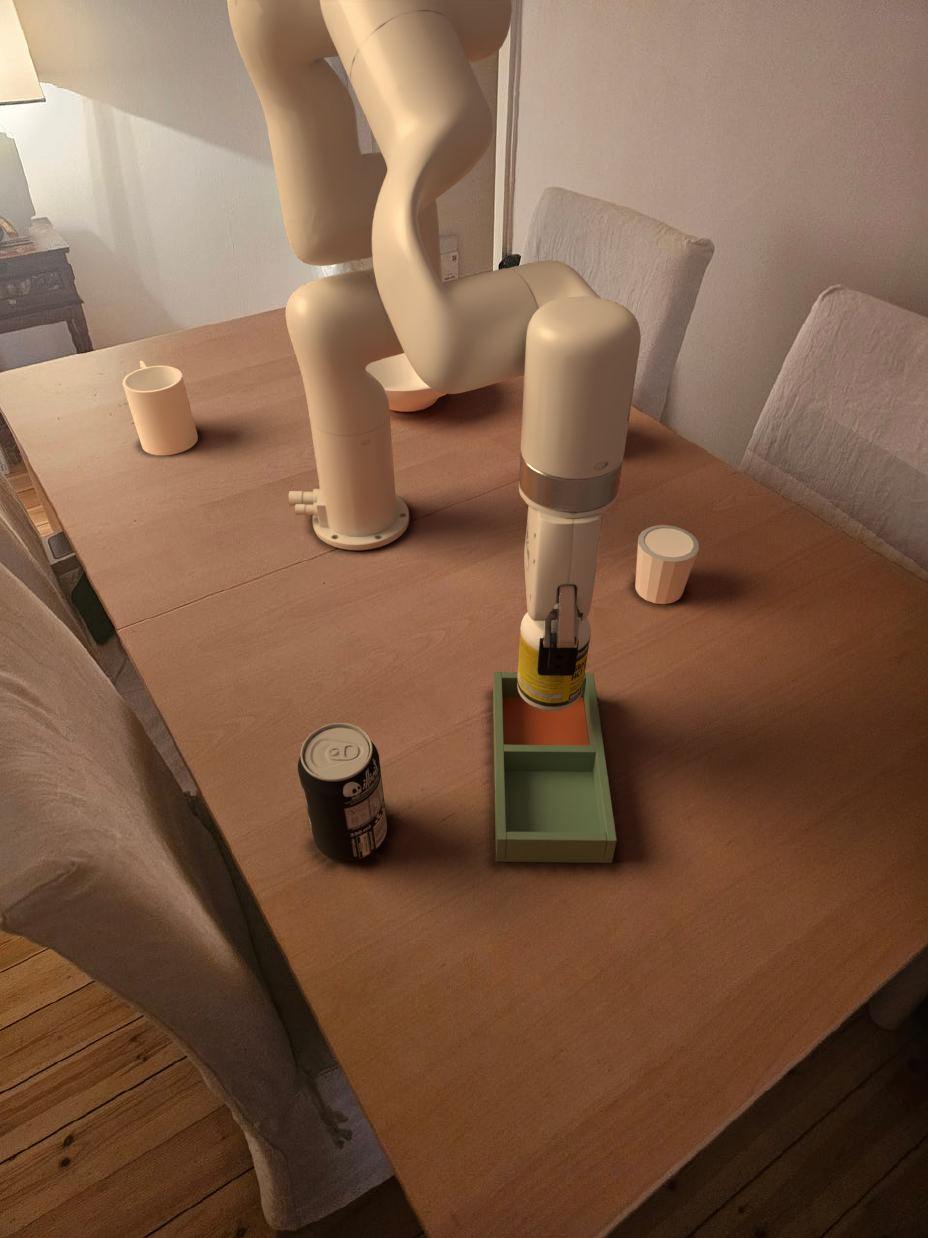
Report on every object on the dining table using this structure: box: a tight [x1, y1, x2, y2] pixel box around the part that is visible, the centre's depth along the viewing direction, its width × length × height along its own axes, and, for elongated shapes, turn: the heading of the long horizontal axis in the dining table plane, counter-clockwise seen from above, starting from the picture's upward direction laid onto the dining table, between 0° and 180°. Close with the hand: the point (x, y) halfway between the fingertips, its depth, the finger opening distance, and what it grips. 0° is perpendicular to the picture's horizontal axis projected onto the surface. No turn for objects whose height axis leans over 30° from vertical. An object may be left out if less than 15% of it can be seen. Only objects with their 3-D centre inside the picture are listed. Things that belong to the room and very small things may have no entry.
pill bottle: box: [517, 603, 592, 711], centre depth 74 cm, size 6×6×11 cm
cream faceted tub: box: [634, 524, 700, 605], centre depth 96 cm, size 7×7×7 cm
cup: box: [121, 360, 199, 456], centre depth 121 cm, size 8×12×10 cm
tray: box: [492, 671, 618, 864], centre depth 77 cm, size 10×19×4 cm, turn 179°
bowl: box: [366, 353, 447, 413], centre depth 130 cm, size 20×20×7 cm
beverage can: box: [297, 722, 388, 863], centre depth 70 cm, size 7×7×12 cm
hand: (553, 643), depth 73 cm, fingers closed on pill bottle, 6 cm apart
